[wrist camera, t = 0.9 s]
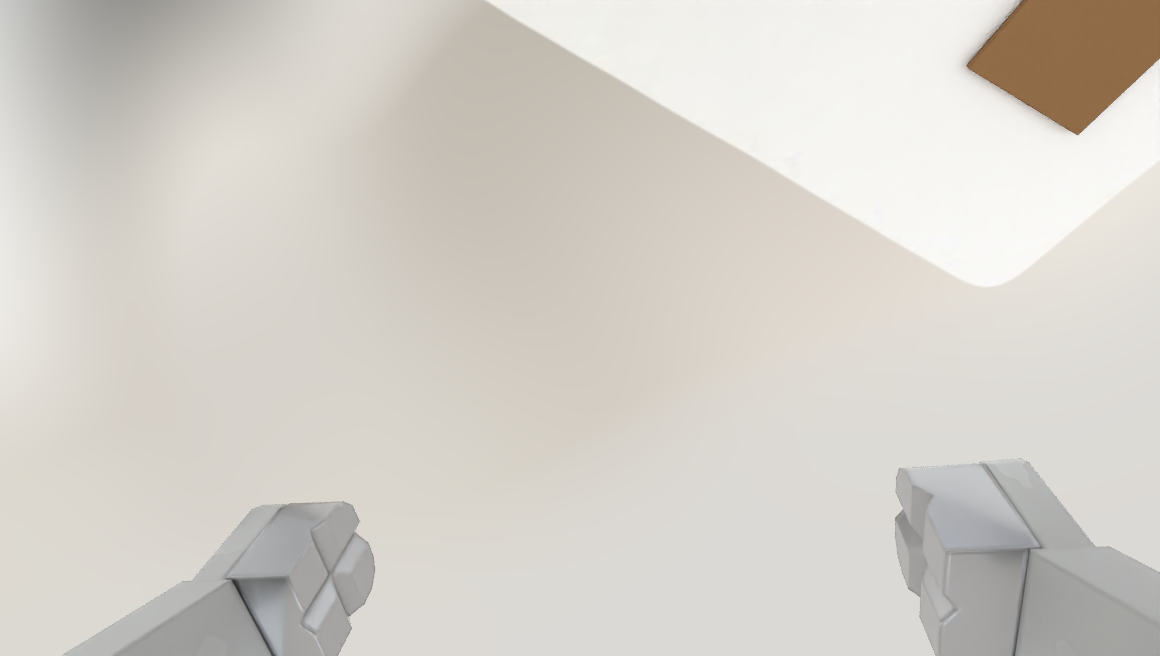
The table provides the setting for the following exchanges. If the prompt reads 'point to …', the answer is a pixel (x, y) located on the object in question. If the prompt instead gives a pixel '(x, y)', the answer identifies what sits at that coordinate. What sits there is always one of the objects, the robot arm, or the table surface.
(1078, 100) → the cork mat
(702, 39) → the table surface
